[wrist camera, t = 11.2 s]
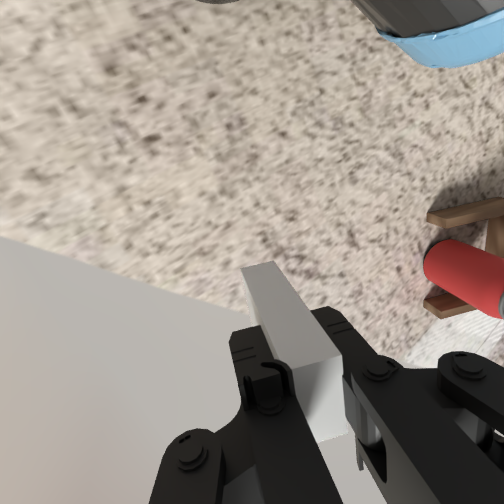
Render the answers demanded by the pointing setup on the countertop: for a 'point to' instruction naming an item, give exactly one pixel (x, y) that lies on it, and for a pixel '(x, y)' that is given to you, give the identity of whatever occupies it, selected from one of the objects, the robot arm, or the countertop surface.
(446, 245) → the beer can
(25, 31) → the countertop surface
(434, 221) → the walnut bay
